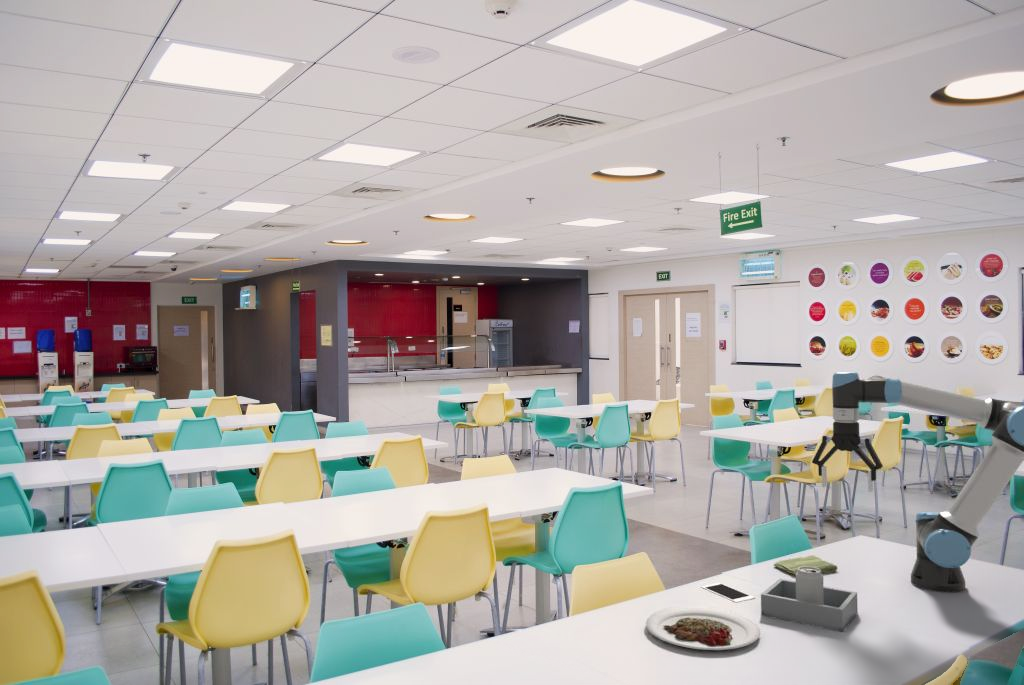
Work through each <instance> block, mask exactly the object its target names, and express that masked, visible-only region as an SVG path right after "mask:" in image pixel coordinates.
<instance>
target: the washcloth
mask: <svg viewBox="0 0 1024 685" xmlns="http://www.w3.org/2000/svg"><path fill="white" fill-rule="evenodd" d="M773 566H774V567H775V568H777V569H780V570H782V571H784V572H787V573H789V574H792V575H795V576H796V572H797V571H798V568H799V567H804V566H808V567H815V568H818V569H820V570H821V572H820V573H821V574H822V575H823V574H830V573H831V574H832V573H835V572H836V571H837V570H838V565H836V564H834V563H831V562H829V561H826V560H822V558H820V557H818V556H816V555H807V556H802V557H801V556H800V557H795V558H789V559H783V560H782V559H781V560H778V561H776V562H775V563H774V564H773Z"/></svg>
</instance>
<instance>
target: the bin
mask: <svg viewBox="0 0 1024 685" xmlns="http://www.w3.org/2000/svg"><path fill="white" fill-rule="evenodd" d="M823 587H824V605H822V604H817V603H811V602H806V601H801V600H796V580H795V581H794V580H790V579H789V580H788V579H785V578H784V579H783V578H779V579H777V580H776V581H775V582H774V583H772V585H770V586H768V588H767V589H765V590H764V591H763V592H762V593H761V594H760V611H761V612H760V615H761V616H763V617H768V618H773V619H779V620H781V621H782V620H783V621H788V622H793V623H798V624H802V625H807V626H810V627H811V626H812V627H817V628H820V629H825V628H826V630H830V631H834V632H840V633H844V631H845V630H846V629H847V628H848V626H849V625H850V624H849V623H851V622H852V621H853V620H854V619H855V617H856V616H857V615H858V592H856V591H852V590H846V589H842V588H841V589H840V588H835V587H830V586H824V585H823ZM856 614H857V615H856ZM855 615H856V616H855ZM852 619H853V620H852ZM851 620H852V621H851ZM848 624H849V625H848Z"/></svg>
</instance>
